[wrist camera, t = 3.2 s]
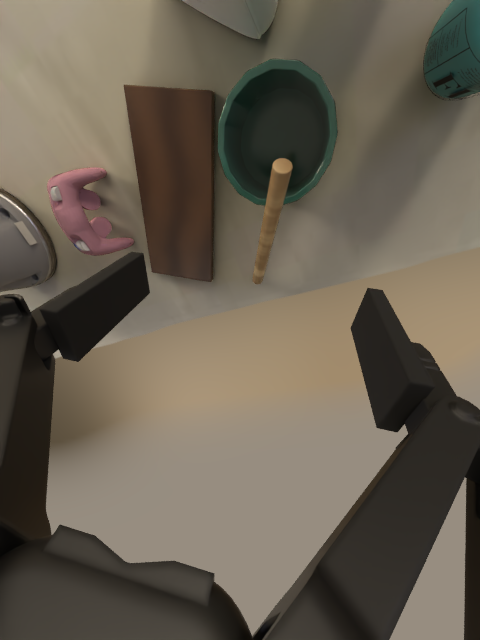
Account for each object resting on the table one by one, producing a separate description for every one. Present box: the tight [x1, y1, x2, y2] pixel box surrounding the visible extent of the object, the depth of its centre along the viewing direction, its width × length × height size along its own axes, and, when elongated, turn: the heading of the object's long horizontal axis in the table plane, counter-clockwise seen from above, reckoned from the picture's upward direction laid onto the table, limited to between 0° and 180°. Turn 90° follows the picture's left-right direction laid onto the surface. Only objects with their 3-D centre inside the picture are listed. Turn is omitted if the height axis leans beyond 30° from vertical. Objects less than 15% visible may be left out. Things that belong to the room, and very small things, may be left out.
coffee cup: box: [218, 59, 338, 205], centre depth 22 cm, size 9×9×8 cm
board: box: [124, 85, 215, 282], centre depth 30 cm, size 9×20×1 cm, turn 175°
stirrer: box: [253, 158, 293, 284], centre depth 25 cm, size 1×13×13 cm
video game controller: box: [47, 168, 134, 256], centre depth 31 cm, size 10×5×7 cm, turn 9°
